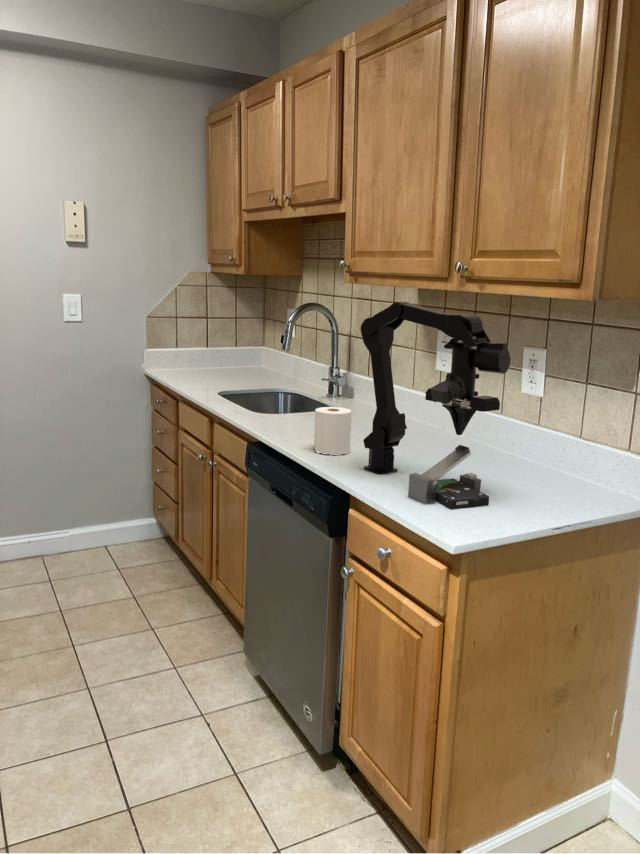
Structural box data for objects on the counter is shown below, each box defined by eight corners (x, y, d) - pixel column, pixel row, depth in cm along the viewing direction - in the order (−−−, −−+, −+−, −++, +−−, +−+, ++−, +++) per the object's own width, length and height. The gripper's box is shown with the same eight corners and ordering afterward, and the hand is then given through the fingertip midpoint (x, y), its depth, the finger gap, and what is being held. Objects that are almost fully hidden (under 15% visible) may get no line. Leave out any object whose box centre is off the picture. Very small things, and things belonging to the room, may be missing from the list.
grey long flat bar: (420, 479, 163) (418, 473, 162) (459, 450, 168) (458, 444, 168) (432, 483, 160) (430, 478, 159) (472, 453, 165) (470, 448, 164)
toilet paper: (355, 454, 200) (357, 412, 197) (321, 456, 196) (322, 414, 194) (341, 446, 209) (343, 405, 206) (308, 448, 205) (310, 407, 203)
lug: (458, 488, 171) (460, 472, 171) (464, 486, 173) (466, 471, 172) (474, 493, 167) (475, 477, 167) (480, 492, 169) (481, 476, 168)
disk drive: (489, 508, 160) (452, 488, 173) (490, 496, 159) (453, 477, 172) (450, 512, 155) (415, 492, 169) (451, 500, 155) (416, 480, 168)
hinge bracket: (407, 496, 163) (408, 473, 162) (416, 494, 165) (418, 472, 164) (426, 504, 158) (428, 481, 157) (436, 502, 160) (438, 479, 159)
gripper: (410, 366, 168) (407, 431, 171) (469, 376, 153) (464, 446, 156) (443, 364, 174) (440, 426, 177) (503, 373, 159) (498, 441, 163)
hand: (459, 434), depth 168 cm, fingers closed
